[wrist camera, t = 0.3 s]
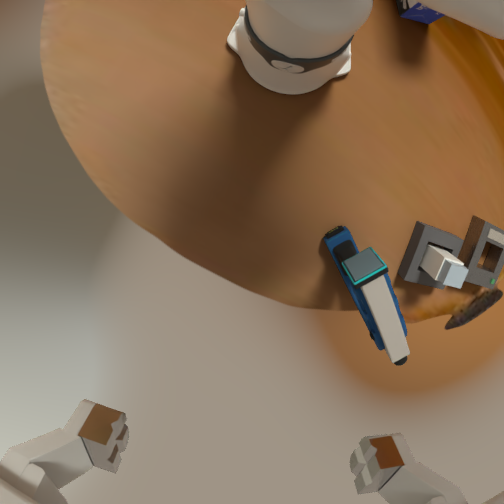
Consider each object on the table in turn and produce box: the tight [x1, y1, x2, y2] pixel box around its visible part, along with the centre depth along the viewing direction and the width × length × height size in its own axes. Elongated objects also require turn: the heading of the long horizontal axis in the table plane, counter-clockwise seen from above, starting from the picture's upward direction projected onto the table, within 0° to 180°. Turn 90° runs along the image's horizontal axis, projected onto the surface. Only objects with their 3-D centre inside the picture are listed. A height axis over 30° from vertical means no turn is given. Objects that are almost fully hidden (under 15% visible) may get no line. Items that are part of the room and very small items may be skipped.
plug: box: [419, 242, 469, 289], centre depth 42 cm, size 4×5×10 cm
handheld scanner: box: [323, 226, 410, 365], centre depth 38 cm, size 5×16×20 cm, turn 31°
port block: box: [458, 215, 504, 289], centre depth 43 cm, size 12×11×4 cm
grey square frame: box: [398, 221, 464, 289], centre depth 45 cm, size 10×10×3 cm
